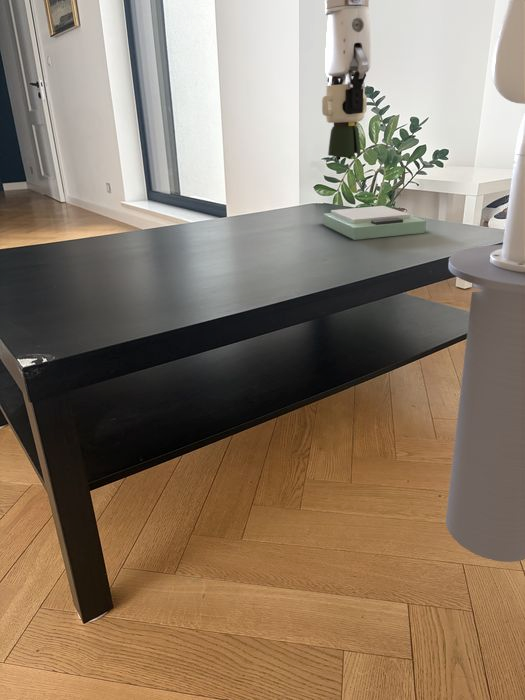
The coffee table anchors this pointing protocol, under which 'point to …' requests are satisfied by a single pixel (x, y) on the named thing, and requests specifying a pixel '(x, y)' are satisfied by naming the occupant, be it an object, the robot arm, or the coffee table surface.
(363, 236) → the scale
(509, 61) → the robot arm
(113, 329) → the coffee table surface
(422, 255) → the coffee table surface
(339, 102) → the character mug
